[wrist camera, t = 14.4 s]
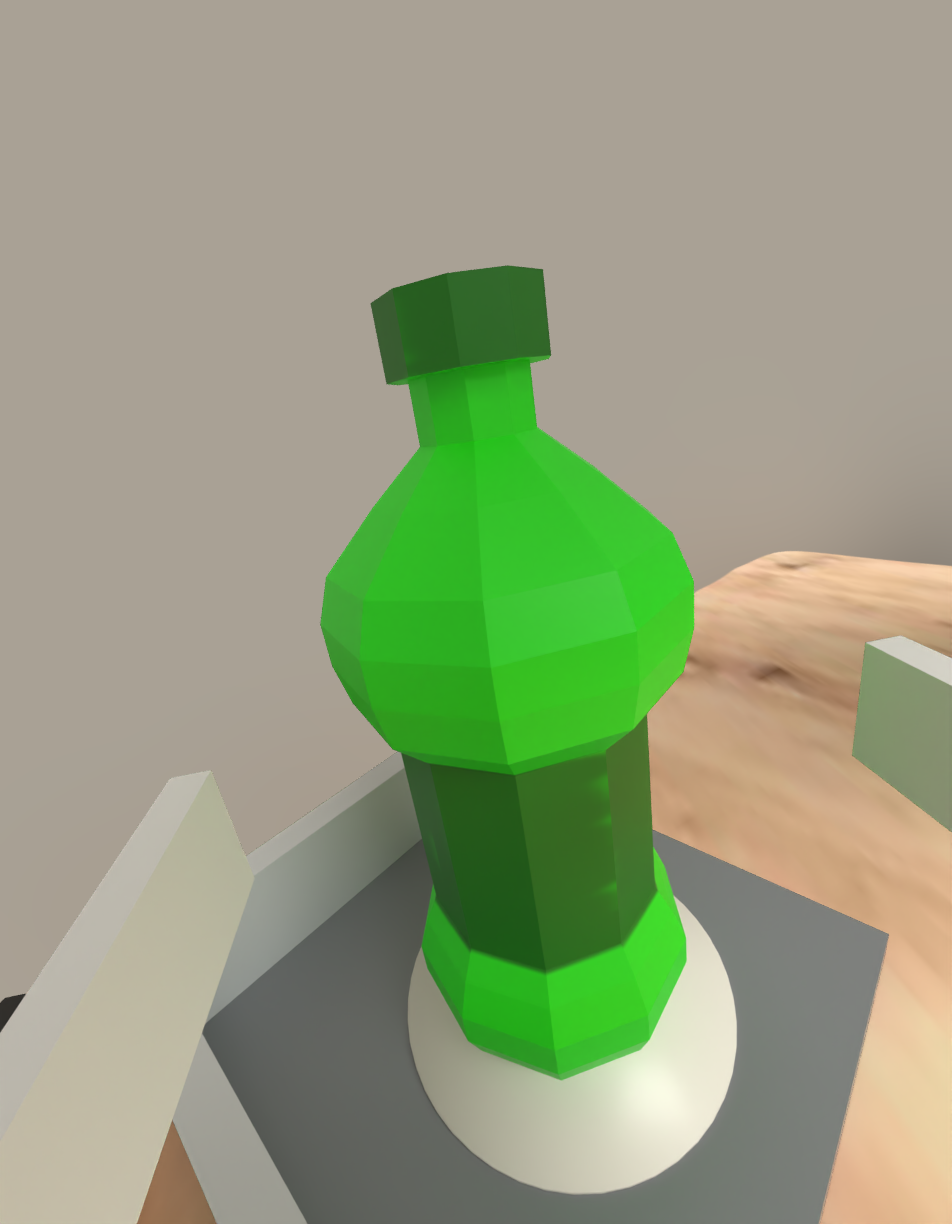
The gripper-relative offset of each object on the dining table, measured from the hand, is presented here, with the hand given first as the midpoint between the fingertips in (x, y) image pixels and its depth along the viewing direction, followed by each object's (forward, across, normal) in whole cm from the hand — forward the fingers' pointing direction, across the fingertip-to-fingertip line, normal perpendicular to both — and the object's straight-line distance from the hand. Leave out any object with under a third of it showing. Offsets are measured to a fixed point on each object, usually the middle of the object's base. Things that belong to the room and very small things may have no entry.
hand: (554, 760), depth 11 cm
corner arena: (+6, -2, -17) cm, 18 cm away
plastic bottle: (+6, 0, -16) cm, 17 cm away
